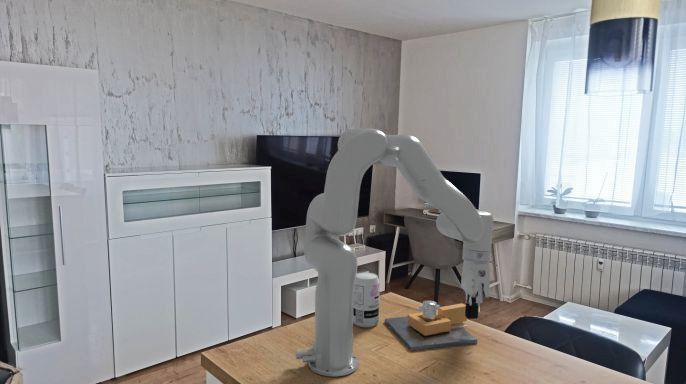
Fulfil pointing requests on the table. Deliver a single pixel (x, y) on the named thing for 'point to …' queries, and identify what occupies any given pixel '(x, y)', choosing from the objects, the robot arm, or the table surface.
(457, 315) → the tan wooden bracket
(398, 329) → the base plate
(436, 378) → the table surface
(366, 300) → the supplement can
